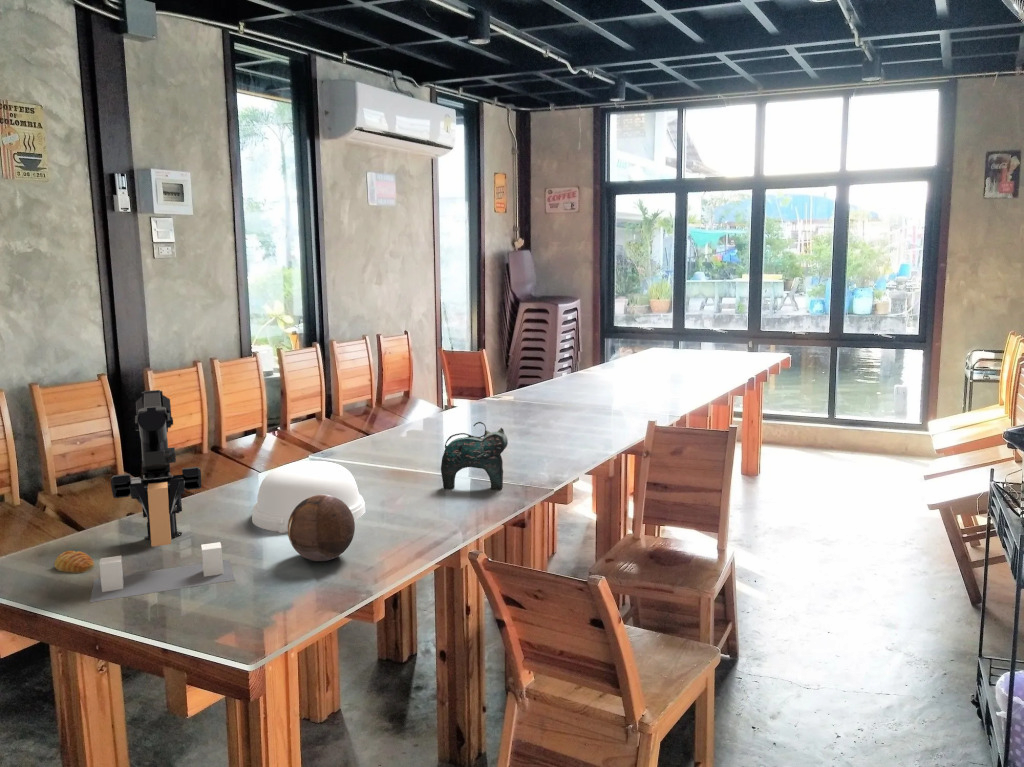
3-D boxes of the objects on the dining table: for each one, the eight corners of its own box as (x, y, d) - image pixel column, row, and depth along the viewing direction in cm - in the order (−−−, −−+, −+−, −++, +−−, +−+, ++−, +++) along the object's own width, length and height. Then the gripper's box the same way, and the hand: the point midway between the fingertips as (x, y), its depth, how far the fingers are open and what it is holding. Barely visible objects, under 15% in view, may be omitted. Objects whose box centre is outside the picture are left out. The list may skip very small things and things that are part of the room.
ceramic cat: (508, 485, 257) (507, 420, 254) (506, 491, 251) (505, 424, 248) (443, 485, 259) (441, 420, 256) (439, 490, 253) (437, 424, 250)
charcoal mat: (94, 581, 186) (94, 579, 186) (229, 561, 196) (229, 559, 196) (90, 604, 173) (89, 602, 173) (234, 582, 183) (234, 580, 183)
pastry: (103, 569, 194) (101, 553, 193) (74, 579, 188) (73, 562, 188) (79, 562, 199) (77, 546, 198) (50, 571, 193) (49, 555, 193)
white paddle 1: (103, 585, 182) (100, 558, 181) (123, 582, 183) (121, 555, 182) (102, 591, 178) (99, 564, 177) (123, 588, 180) (120, 561, 179)
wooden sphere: (360, 547, 204) (357, 486, 202) (351, 569, 189) (347, 504, 187) (297, 549, 204) (293, 488, 202) (282, 572, 189) (278, 506, 187)
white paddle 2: (203, 570, 189) (201, 544, 188) (222, 567, 191) (220, 542, 190) (204, 576, 186) (202, 550, 185) (223, 573, 187) (221, 547, 186)
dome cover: (334, 537, 213) (332, 482, 211) (227, 530, 220) (223, 477, 218) (383, 501, 244) (381, 453, 242) (288, 496, 251) (285, 449, 249)
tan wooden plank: (151, 539, 193) (148, 483, 191) (170, 537, 195) (167, 481, 193) (151, 546, 188) (147, 489, 187) (171, 544, 190) (167, 487, 188)
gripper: (107, 440, 188) (109, 501, 180) (197, 432, 195) (203, 491, 187) (112, 467, 197) (114, 527, 188) (198, 458, 204) (204, 516, 195)
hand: (159, 514), depth 189 cm, fingers closed on tan wooden plank, 4 cm apart
